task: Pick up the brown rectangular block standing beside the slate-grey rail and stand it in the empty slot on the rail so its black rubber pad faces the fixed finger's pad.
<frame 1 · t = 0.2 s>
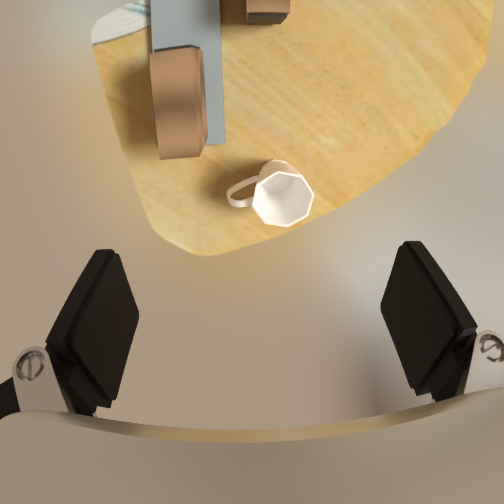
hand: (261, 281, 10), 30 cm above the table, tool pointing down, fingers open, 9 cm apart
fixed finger: (190, 94, 33), resting on rail
brown rectangular block: (263, 4, 26), on the table
cup: (265, 175, 40), on the table
rail: (186, 30, 28), on the table
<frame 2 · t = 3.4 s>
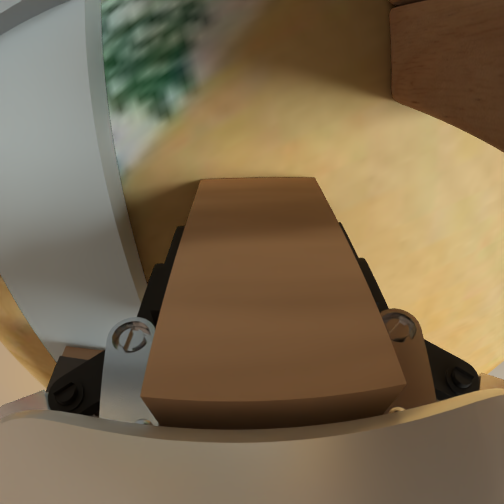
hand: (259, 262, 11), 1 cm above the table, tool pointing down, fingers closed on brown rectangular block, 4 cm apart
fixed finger: (129, 382, 18), resting on rail
brown rectangular block: (258, 237, 12), on the table, touching gripper
rail: (80, 294, 14), on the table
when the fingers open (4 cm above the table, at t = 7.6 s): brown rectangular block stays where it is, resting on rail.
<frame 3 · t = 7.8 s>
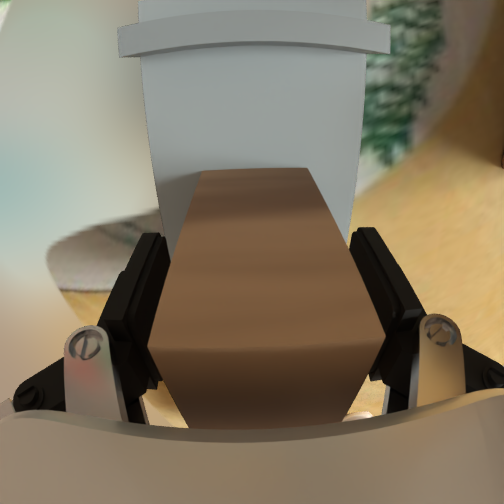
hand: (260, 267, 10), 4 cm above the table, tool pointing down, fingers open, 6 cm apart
brown rectangular block: (256, 225, 13), point 1 cm above the table, touching rail
rail: (257, 300, 17), on the table
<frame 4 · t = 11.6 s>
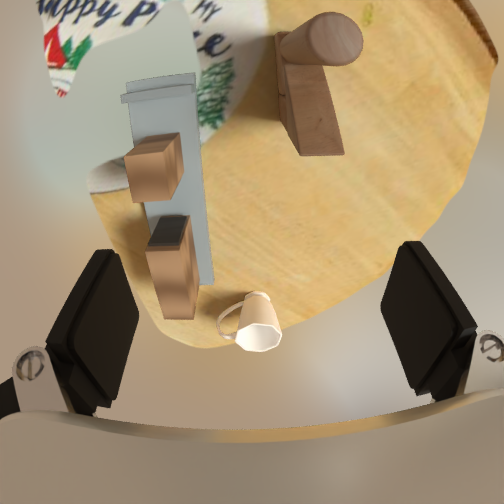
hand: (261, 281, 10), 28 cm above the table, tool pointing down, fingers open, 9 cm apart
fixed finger: (182, 245, 43), resting on rail
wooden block: (292, 77, 30), on the table
brown rectangular block: (166, 153, 34), point 1 cm above the table, touching rail
cup: (247, 300, 50), on the table
rail: (174, 191, 38), on the table
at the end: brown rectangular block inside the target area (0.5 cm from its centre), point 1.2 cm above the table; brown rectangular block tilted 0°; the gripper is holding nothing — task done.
